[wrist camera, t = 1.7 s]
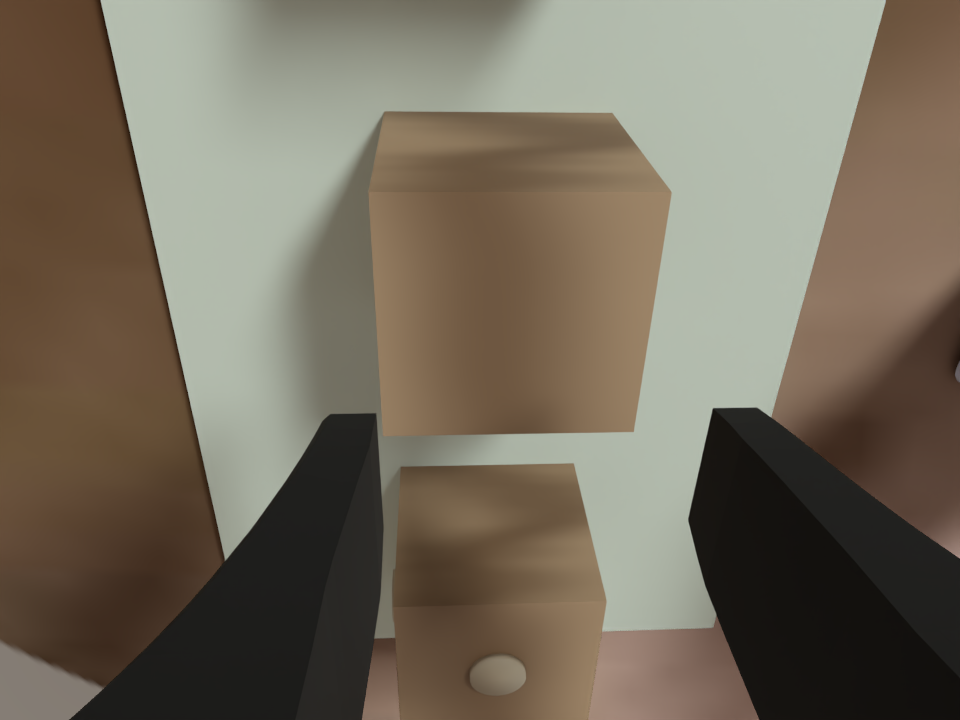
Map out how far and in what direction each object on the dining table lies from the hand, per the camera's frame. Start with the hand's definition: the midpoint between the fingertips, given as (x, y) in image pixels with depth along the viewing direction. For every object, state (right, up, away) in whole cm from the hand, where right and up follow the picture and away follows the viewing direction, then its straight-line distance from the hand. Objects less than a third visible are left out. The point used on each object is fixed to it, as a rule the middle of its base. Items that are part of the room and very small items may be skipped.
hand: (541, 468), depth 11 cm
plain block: (-1, +5, +8) cm, 9 cm away
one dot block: (-1, -4, +13) cm, 13 cm away
